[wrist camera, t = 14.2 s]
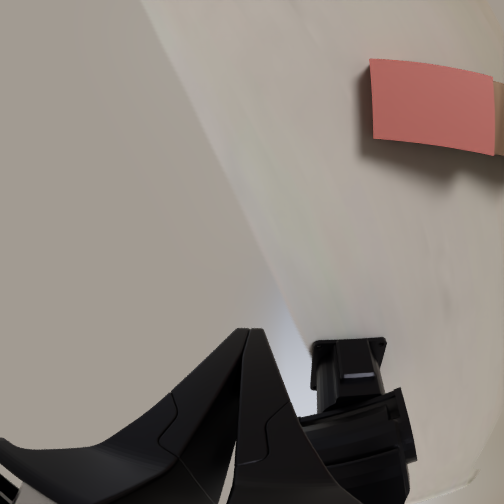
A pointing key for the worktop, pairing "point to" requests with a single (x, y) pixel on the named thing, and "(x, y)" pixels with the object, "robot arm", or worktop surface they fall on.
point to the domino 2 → (499, 117)
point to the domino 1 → (433, 105)
